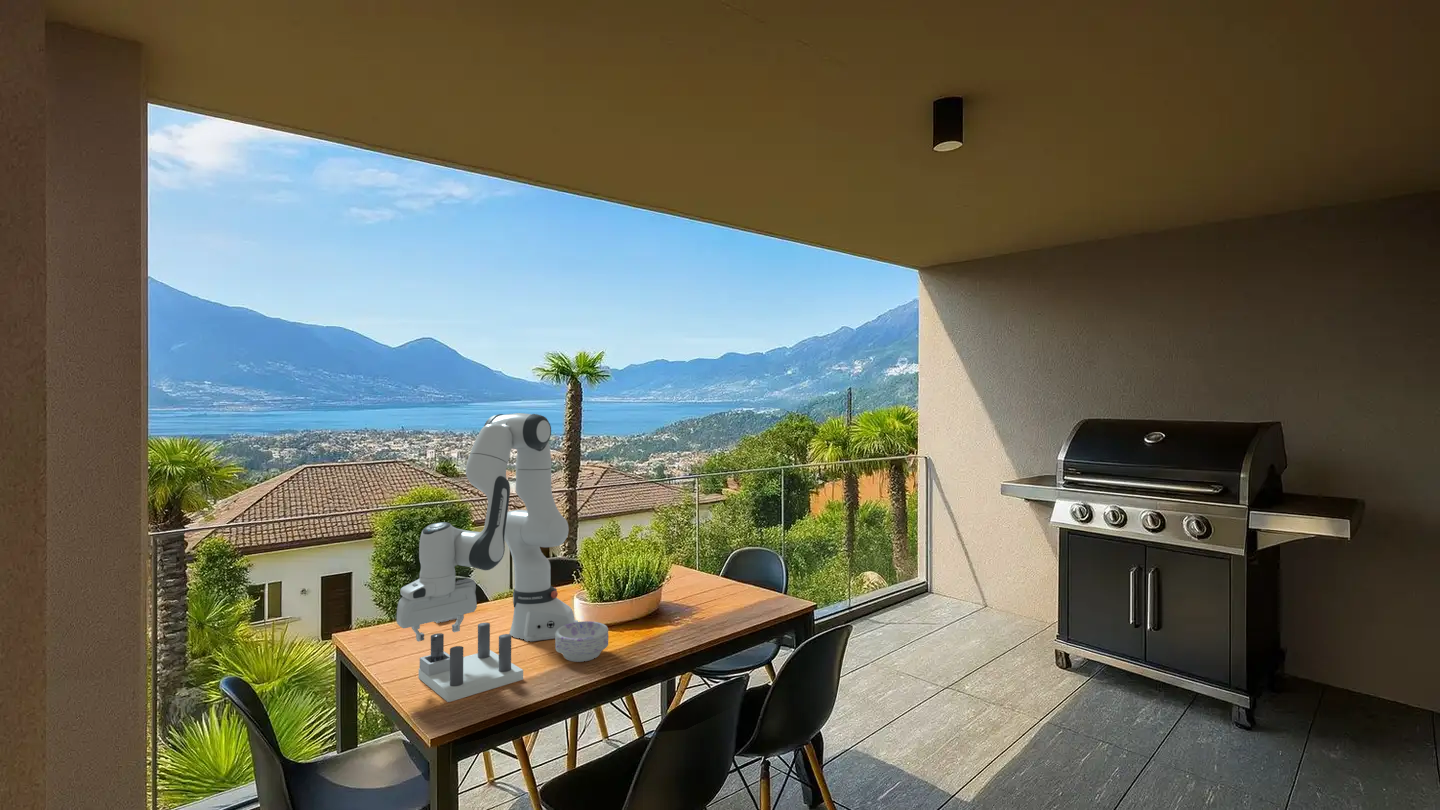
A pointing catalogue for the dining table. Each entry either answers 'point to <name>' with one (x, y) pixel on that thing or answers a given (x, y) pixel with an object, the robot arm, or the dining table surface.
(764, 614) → the dining table surface
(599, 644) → the paper bowls
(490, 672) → the stool seat
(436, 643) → the stool leg
